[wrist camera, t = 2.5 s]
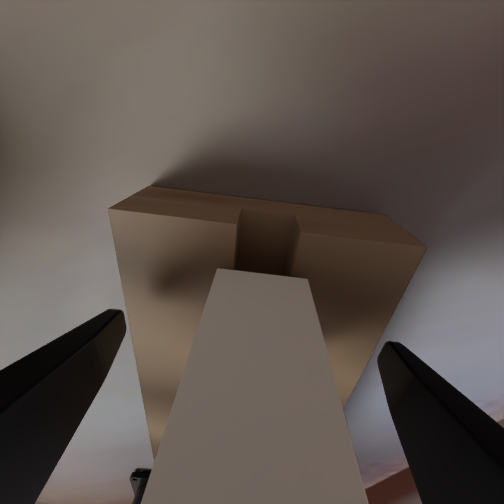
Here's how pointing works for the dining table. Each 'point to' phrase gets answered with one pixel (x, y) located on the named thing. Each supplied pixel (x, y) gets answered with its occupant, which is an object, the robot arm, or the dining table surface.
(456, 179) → the dining table surface
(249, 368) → the fader tab
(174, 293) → the fader track
